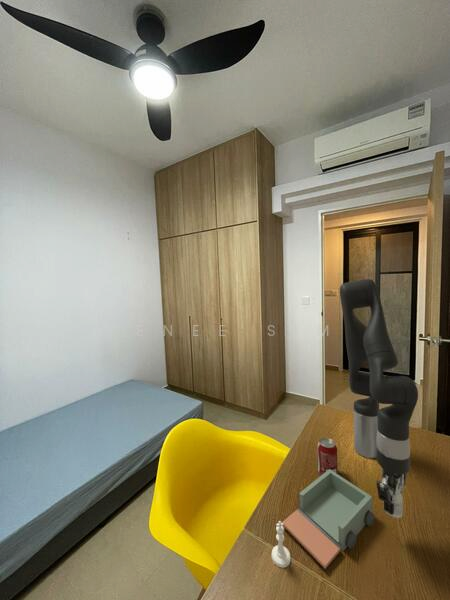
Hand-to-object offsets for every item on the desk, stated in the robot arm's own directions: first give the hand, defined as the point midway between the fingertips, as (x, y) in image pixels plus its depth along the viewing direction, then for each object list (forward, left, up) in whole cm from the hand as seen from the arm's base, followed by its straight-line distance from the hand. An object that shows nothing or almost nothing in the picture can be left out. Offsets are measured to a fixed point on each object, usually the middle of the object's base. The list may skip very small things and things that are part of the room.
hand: (392, 506), depth 68 cm
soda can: (-7, -24, -9) cm, 27 cm away
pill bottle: (0, 0, -2) cm, 2 cm away
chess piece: (+28, -15, -9) cm, 34 cm away
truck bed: (+6, -13, -9) cm, 17 cm away
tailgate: (+15, -13, -8) cm, 22 cm away
